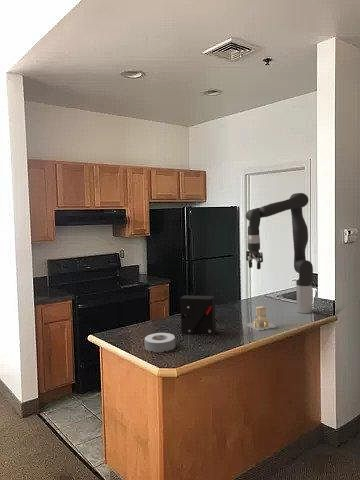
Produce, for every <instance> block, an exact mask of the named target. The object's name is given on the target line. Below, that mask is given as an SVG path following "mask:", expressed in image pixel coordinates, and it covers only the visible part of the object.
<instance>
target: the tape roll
mask: <svg viewBox="0 0 360 480" xmlns="http://www.w3.org/2000/svg"><path fill="white" fill-rule="evenodd" d="M175 348H176V337H175V335H174V334H173V333H169V332H156V333H151V334H149V335H145V337H144V349H145V351H147V350H148V352H150V351H153V352H152V353H165V352H164V351H166V352H169V350H170V351H172V350H174V349H175Z"/></svg>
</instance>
